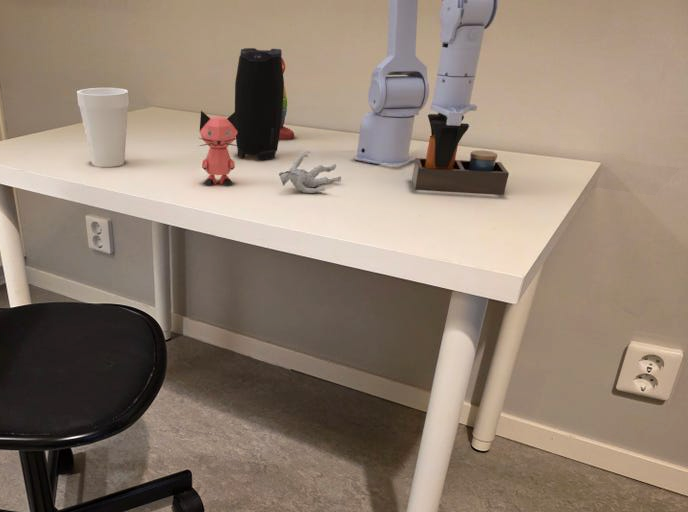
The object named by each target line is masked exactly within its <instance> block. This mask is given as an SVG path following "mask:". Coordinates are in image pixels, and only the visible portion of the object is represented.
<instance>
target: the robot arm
mask: <svg viewBox="0 0 688 512" xmlns="http://www.w3.org/2000/svg"><path fill="white" fill-rule="evenodd" d="M441 1H442V5H441V7H440V10H439V21H440V22H439V23H440V33H439V34H440V35H439V39H440V40H439V41H440V42H441V43H442V44H441V48H440V49H441V51H440V55H439V61H438V68H437V74H436V80H435V85H434V91H433V96H432V102H431V103H430V108H429V109H430V110H431V111H433V112H436V113H429V114H427V118H428V121H429V126H430V133H431V134H430V136H432V135H434V138H435V154H434V161H435V166H436V167H448V166H449V164H450V162H451V160H452V157H453V155H454V152H455V150H456V147H457V145H458V146H459V143H460V141H461V140H462V139H463V136H464V135H465V134H466V133H467V131H468V130H469V128H470V124H469V123H463V122H462V121H463V120H464V118H465V115H466V114H467V113H468V112H474V111H475V112H476V111H477V108H478V106H477V104H471V101H472V100H471V99H472V94H473V89H474V84H475V80H476V79H475V78H476V75H477V69H478V64H479V59H480V54H481V50H482V45H483V39H484V33H485V30H487V29H488V28H490V26H491V25H492V24H493V23H494V20H495V18H496V15H497V12H498V7H499V6H498V5H499V0H441ZM418 2H419V0H388V15H387V16H388V18H387V45H386V47H387V48H386V57H385V59H384V60H382V61H381V62H380V63H379V64H378V65H376V67H375V68H374V69H373V70H372V71H371V77H370V78H371V79H370V84H369V88H368V94H367V100H368V104H369V108H370V110H371V111H368V112H366V114H365V115H364V116H363V118H362V120H361V123H360V127H359V136H358V142H357V143H358V144H357V151H356V156H355V157H354V160H355V161H359V162H364V163H370V164H375V165H382V164H386V165H390V166H396V167H399V166H401V165H404V164H407V163H409V162H411V161H415V158H416V157H414V156H413V157H412V156H409V155H410V148H411V142H412V136H413V130H414V123H415V118H416V116H419V115H420V114H419V113H420V112H421V110H423V109H424V107H425V106H426V104H427V103H428V100H429V96H430V83H429V81H428V80H429V79H428V67H427V66H426V64H424V62H423V61H422V60H420V58H418V57H417V56H416V51H417V30H418V28H417V27H418V5H419V3H418ZM457 148H458V147H457Z"/></svg>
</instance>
